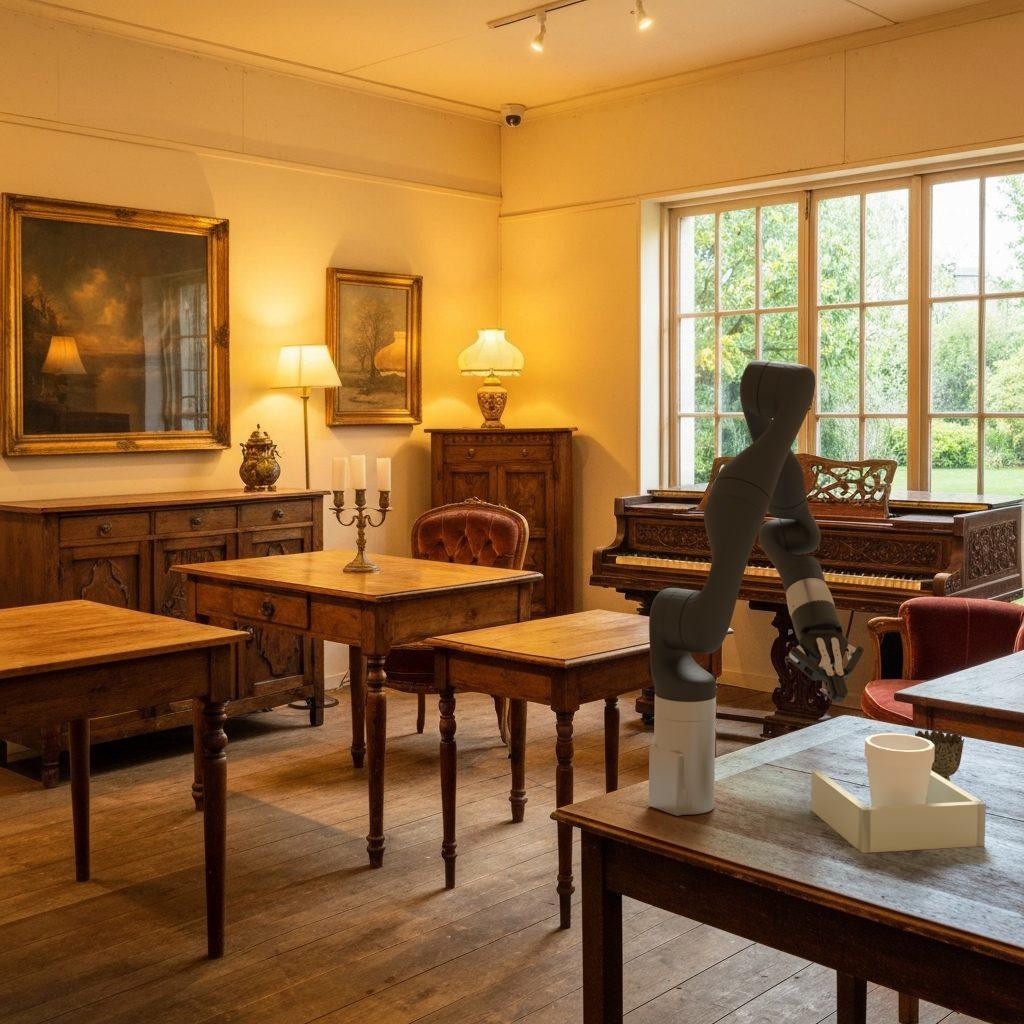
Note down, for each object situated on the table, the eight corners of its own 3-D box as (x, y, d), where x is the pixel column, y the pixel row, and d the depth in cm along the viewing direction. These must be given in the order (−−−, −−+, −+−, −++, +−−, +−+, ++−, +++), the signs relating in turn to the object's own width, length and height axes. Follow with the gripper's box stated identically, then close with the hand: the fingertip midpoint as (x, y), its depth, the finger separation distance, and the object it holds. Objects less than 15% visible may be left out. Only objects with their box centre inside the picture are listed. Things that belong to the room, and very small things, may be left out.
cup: (965, 792, 194) (967, 742, 193) (916, 789, 195) (918, 740, 194) (958, 778, 201) (960, 730, 200) (911, 775, 202) (912, 728, 202)
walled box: (810, 809, 186) (811, 770, 185) (922, 803, 188) (923, 765, 188) (861, 852, 168) (862, 810, 167) (984, 845, 170) (985, 803, 170)
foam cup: (902, 847, 170) (904, 755, 169) (849, 828, 178) (851, 740, 176) (945, 833, 175) (948, 744, 174) (892, 815, 183) (894, 730, 182)
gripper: (781, 598, 204) (807, 687, 192) (857, 598, 205) (886, 686, 194) (769, 625, 209) (793, 713, 198) (843, 624, 211) (871, 711, 200)
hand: (839, 699), depth 196 cm, fingers closed
